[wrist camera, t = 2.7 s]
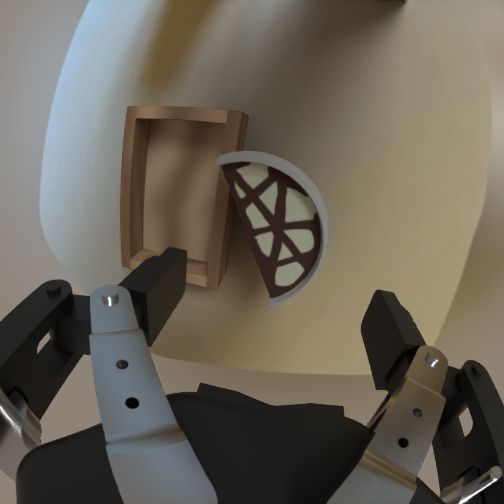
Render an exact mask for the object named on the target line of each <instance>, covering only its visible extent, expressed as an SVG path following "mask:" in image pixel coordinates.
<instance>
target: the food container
mask: <svg viewBox="0 0 504 504" xmlns="http://www.w3.org/2000/svg"><path fill="white" fill-rule="evenodd" d="M216 162H217V164H215V166H221V167H222V170H223V173H224V177H225V178H226V180H227V182H228V185H229V187H230V190H231V193H232V196H233V198H234V201H235V204H236V207H237V210H238V212H239V215H240V218H241V221H242V224H243V227H244V230H245V233H246V236H247V239H248V241H249V244H250V246H251V248H252V251H253V253H254V255H255V258H256V260H257V263H258V265H259V268H260V271H261V273H262V276H263V279H264V281H265V284H266V286H267V289H268V292H269V294H270V300H269V307H271V306H275V305H278V304H280V303H283V302H285V301H287V300H289V299H291V298H292V297H294V296H295V295H296V294H298V293H299V292H300V291H301V290H302V289H304V288H305V287H306V286H307V285H308V284H309V283H310V281H311V280H312V279H313V278H314V276H315V275H316V274H317V272H318V270H319V268H320V266H321V265H322V262H323V259H324V256H325V253H326V250H327V246H328V239H329V218H328V213H327V208H326V206H325V203H324V200H323V198H322V196H321V194H320V192H319V191H318V189H317V187H316V186H315V184H314V183H313V182H312V181H311V180H310V178H309V177H308V176H307V175H306V174H305V173H304V172H302V171H301V170H300V169H299V168H298V167H297V166H295V165H293V164H292V163H290V162H288V161H287V160H285V159H283V158H280V157H278V156H275V155H272V154H269V153H264V152H259V151H238V152H230V153H227V154H224V155H220V156H219V157H218V159H217V160H216Z"/></svg>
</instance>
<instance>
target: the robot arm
mask: <svg viewBox="0 0 504 504" xmlns="http://www.w3.org/2000/svg"><path fill="white" fill-rule="evenodd" d="M403 1H408V0H403ZM186 272H187V251H186V250H183V249H178V248H174V247H168V248H167V249H166V250H165V251H164V252H163V253H162V254H161V255H160V256H157V255H155V256H152V257H150V258H147V259H145V260H144V261H143V262H142V263H141V264H140V265H139V266H138V267H136V268H135V269H134V271H132V272H131V273H130V274H129V275H128V276H127V277H126V278H125V279H124V280H123V281H122V282H121V283H120V284H118V285H105V286H102V287H99V288H97V289H95V290H94V291H93V292H92V294H91V296H82V295H73V294H72V288H71V285H70V284H69V283H68V282H67V281H64V280H51V281H47V282H45V283H43V284H42V285H40V286H39V287H38V288H37V289H36V290H35V291H33V292H32V293H31V294H30V295H29V296H28V297H27V298H26V299H24V300H23V301H22V302H21V303H20V304H19V305H18V306H16V307H15V309H13V310H12V311H11V312H10V313H9V314H8V315H7V316H6V317H5V318H4V319H3V320H2V321H1V322H0V469H1V470H2V471H3V472H4V473H6V474H7V475H8V476H9V477H11V478H12V479H13V480H14V481H15V482H16V494H17V504H504V405H503V403H502V401H501V398H500V396H499V394H498V392H497V390H496V388H495V386H494V383H493V381H492V380H491V377H490V376H489V374H488V372H487V370H486V369H485V368H484V366H482V365H481V364H480V363H478V362H476V361H474V360H468V361H466V362H465V363H464V365H463V366H462V368H461V369H457V368H454V367H451V366H448V361H447V358H446V357H445V355H444V354H443V353H442V352H441V351H440V350H438V349H436V348H434V347H432V346H428V345H426V343H425V341H424V339H423V337H422V335H421V333H420V332H419V330H418V328H417V326H416V324H415V322H413V319H412V317H411V315H410V313H409V312H408V311H407V310H406V309H405V308H404V307H403V306H402V305H401V304H400V303H399V301H398V299H397V297H396V295H395V294H394V293H393V292H389V291H383V290H376V291H375V293H374V295H373V297H372V299H371V302H370V304H369V306H368V309H367V311H366V313H365V315H364V318H363V320H362V324H361V335H362V338H363V342H364V345H365V349H366V352H367V356H368V360H369V364H370V367H371V371H372V375H373V379H374V383H375V388H376V390H388V394H387V395H386V397H385V398H384V399H383V401H382V402H381V404H380V406H379V407H378V409H377V410H376V412H375V413H374V415H373V417H372V418H371V419H370V421H369V422H368V424H367V425H366V426H364V425H363V424H361V423H359V422H357V421H355V420H353V419H350V418H348V417H345V416H344V408H343V406H335V405H324V404H314V403H306V404H296V405H282V406H273V405H269V404H267V403H264V402H261V401H259V400H256V399H254V398H252V397H249V396H247V395H244V394H242V393H240V392H237V391H234V390H229V389H225V388H220V387H216V386H212V385H208V384H204V383H200V385H199V388H198V390H197V392H180V393H173V394H169V395H165V393H164V390H163V388H162V385H161V383H160V380H159V377H158V374H157V372H156V369H155V366H154V363H153V360H152V358H151V354H150V351H149V348H148V347H151V346H152V344H153V342H154V341H155V339H156V338H157V336H158V334H159V333H160V331H161V330H162V328H163V326H164V325H165V323H166V322H167V320H168V319H169V317H170V315H171V314H172V312H173V311H174V309H175V308H176V306H177V304H178V303H179V301H180V300H181V298H182V296H183V294H184V291H185V286H186ZM48 332H49V335H50V337H51V338H50V340H49V341H48V342H47V343H46V344H45V346H44V347H43V348H42V349H41V350H40V351H39V353H38V354H37V347H38V344H39V342H40V341H41V340H42V339H43V337H44V336H45V335H46V334H47V333H48ZM83 354H85V355H91V361H92V369H93V377H94V384H95V389H96V396H97V402H98V407H99V412H100V417H101V421H102V423H100V424H97V425H95V426H92V427H90V428H87V429H85V430H82V431H79V432H77V433H74V434H71V435H69V436H66V437H63V438H60V439H57V440H54V441H51V442H48V443H45V444H42V445H41V439H40V437H41V433H42V429H41V424H40V420H41V418H42V416H43V414H44V413H45V411H46V410H47V408H48V407H49V405H50V403H51V402H52V400H53V399H54V397H55V395H56V394H57V393H58V391H59V389H60V388H61V386H62V385H63V383H64V382H65V380H66V379H67V377H68V376H69V375H70V373H71V372H72V370H73V369H74V367H75V366H76V364H77V363H78V362H79V360H80V358H81V357H82V356H83ZM467 407H468V408H469V411H470V414H471V417H472V420H473V427H472V430H471V431H470V433H469V434H468V435H467V436H466V437H465V436H464V433H463V430H462V426H461V423H460V420H459V416H460V415H461V413H462V412H463V411H464V410H465V409H466V408H467ZM431 443H432V445H433V450H434V455H435V461H436V466H437V472H438V478H439V486H440V497H438V496H437V495H436V494H435V493H434V492H433V491H432V490H431V489H430V488H429V487H428V486H427V485H426V484H425V483H424V482H423V481H421V480H420V478H418V477H417V475H418V473H419V471H420V469H421V467H422V464H423V462H424V460H425V458H426V455H427V453H428V450H429V448H430V446H431Z"/></svg>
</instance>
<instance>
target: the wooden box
mask: <svg viewBox="0 0 504 504" xmlns="http://www.w3.org/2000/svg"><path fill="white" fill-rule="evenodd" d="M247 122H248V115H246V114H245V113H243V112H239V111H231V110H221V109H209V108H195V107H173V106H129V107H127V114H126V122H125V131H124V141H123V153H122V169H121V195H120V228H121V255H122V266H123V267H127V268H130V269H135V268H136V267H138V266H139V265H140V264H141V263H142V262H143V261H144V260H145V259H147V258H150V257H152V256H155V255H157V256H160V255H161V254H162V253H163V252H164V251H165V250H166V249H167V248H168V247H174V248H178V249H183V250H186V251H187V272H186V283H190V284H195V285H199V286H203V287H208V288H212V289H218V287H219V285H220V283H221V281H222V278H223V276H224V274H225V272H226V265H227V257H228V250H229V242H230V235H231V228H232V221H233V214H234V207H235V201H234V198H233V196H232V193H231V190H230V187H229V185H228V182H227V180H226V178H225V177H224V173H223V170H222V167H221V166H215V164H217V162H216V160H217V159H218V157H219V156H220V155H224V154H227V153H230V152H238V151H243V147H244V141H245V135H246V129H247Z"/></svg>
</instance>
